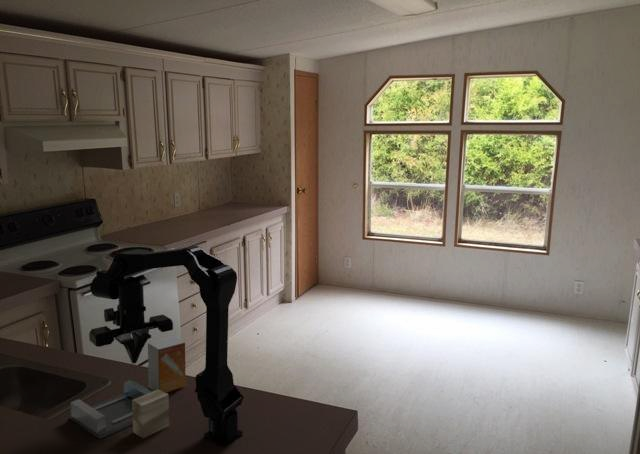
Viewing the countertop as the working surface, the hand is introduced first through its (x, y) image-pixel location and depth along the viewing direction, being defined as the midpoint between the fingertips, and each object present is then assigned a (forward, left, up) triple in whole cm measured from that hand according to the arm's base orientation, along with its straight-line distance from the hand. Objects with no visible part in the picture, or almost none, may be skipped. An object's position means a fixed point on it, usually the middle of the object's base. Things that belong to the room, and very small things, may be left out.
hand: (133, 362), depth 125 cm
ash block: (-10, +2, -13) cm, 17 cm away
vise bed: (+2, +4, -13) cm, 14 cm away
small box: (+5, -13, -13) cm, 19 cm away
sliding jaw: (+2, -3, -11) cm, 12 cm away
